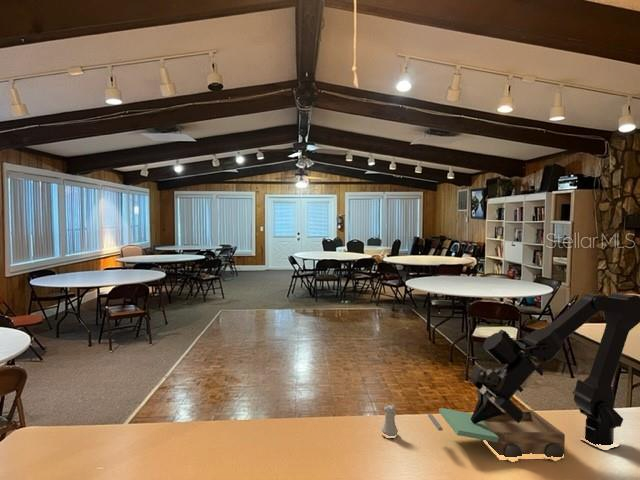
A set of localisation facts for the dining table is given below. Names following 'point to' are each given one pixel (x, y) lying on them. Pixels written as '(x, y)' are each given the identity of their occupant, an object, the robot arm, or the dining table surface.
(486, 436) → the panel
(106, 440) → the dining table surface
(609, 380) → the robot arm
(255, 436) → the dining table surface
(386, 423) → the rook chess piece
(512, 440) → the cart
